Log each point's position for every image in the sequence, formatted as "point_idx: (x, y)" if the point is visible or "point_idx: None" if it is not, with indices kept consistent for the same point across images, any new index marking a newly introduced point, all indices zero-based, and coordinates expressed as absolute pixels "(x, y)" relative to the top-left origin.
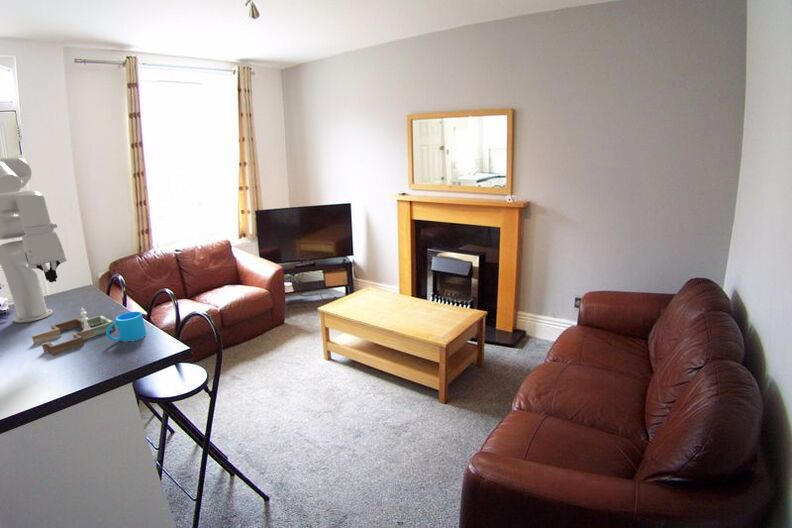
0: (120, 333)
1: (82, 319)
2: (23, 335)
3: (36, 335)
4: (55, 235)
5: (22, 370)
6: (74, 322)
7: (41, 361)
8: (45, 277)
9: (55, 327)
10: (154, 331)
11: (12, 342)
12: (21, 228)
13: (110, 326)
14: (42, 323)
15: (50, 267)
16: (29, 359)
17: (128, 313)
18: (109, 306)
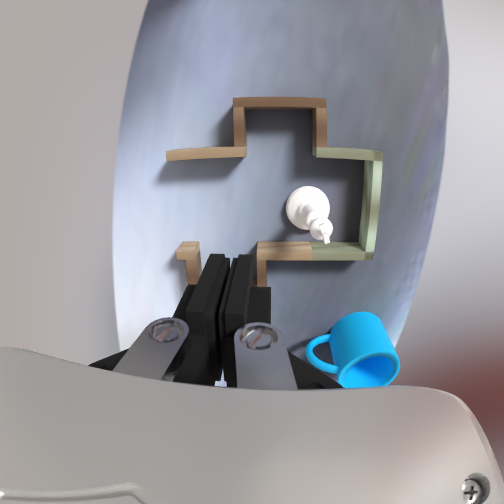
0: (332, 354)
1: (307, 227)
2: (172, 45)
3: (177, 157)
4: None
5: (138, 304)
6: (305, 108)
7: (171, 294)
8: (185, 291)
9: (239, 130)
10: (393, 341)
11: (139, 82)
12: None
13: (319, 368)
14: None
15: (233, 367)
16: (151, 258)
17: (383, 356)
18: (430, 30)
